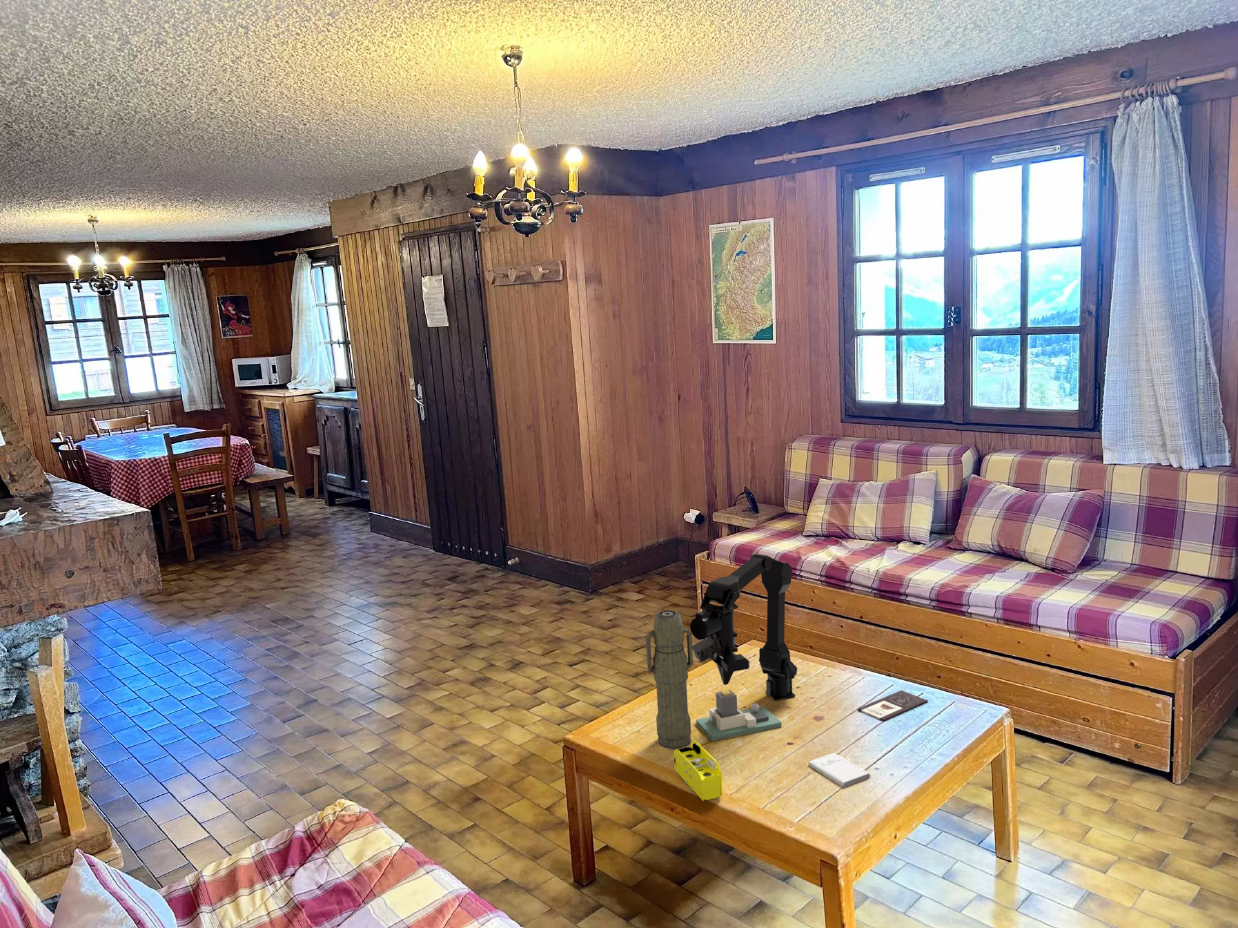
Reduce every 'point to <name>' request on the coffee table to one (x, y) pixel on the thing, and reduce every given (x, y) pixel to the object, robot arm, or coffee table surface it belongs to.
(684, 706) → the thermos
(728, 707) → the plug
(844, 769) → the external hard drive
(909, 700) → the chocolate bar
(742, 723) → the board
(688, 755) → the yellow toy chassis
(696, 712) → the coffee table surface
